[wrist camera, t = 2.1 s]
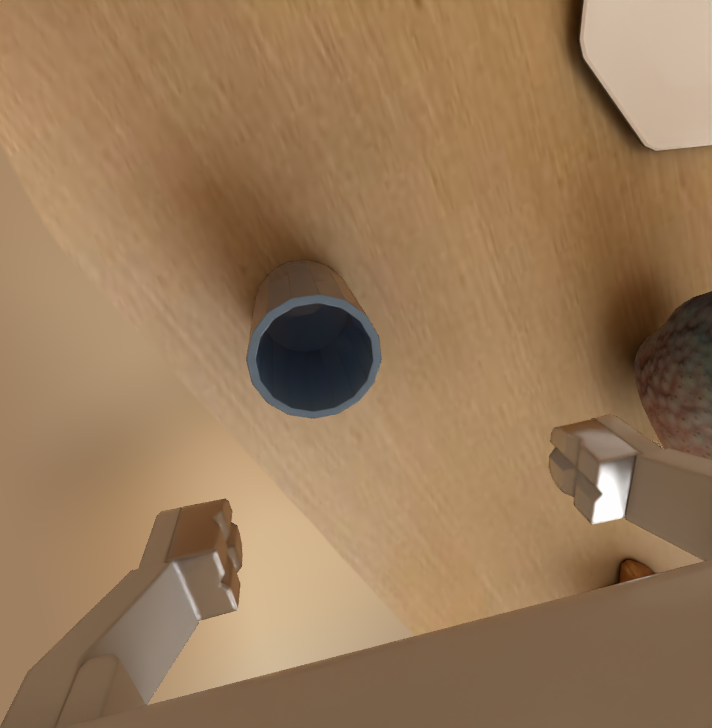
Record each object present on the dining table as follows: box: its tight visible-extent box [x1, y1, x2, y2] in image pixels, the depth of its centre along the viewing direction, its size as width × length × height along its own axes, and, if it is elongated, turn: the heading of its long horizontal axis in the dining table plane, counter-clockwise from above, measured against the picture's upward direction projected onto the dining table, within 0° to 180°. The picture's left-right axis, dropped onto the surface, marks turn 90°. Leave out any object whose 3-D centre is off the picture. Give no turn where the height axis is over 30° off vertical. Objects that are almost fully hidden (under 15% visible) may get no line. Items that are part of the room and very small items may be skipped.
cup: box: [246, 260, 381, 418], centre depth 26 cm, size 7×7×9 cm
